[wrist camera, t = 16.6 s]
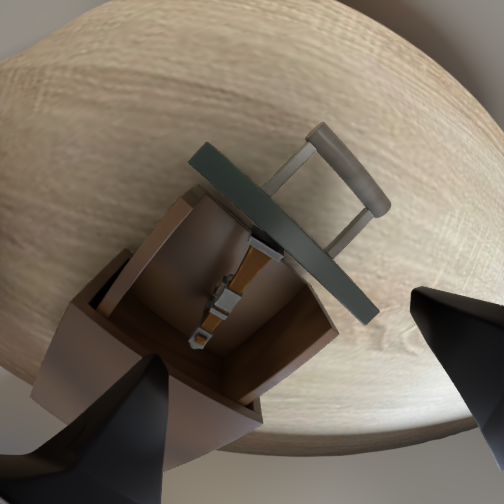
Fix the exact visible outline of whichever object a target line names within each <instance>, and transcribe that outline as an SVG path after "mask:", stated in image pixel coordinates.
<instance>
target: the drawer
mask: <svg viewBox="0 0 504 504" xmlns="http://www.w3.org/2000/svg"><path fill="white" fill-rule="evenodd" d="M305 140H306V141H307V142H306V143H305V144H304V145H303V146H302V147H301V148H300V149H299V150H298V151H297V152H296V153H295V154H294V155H293V156H292V157H291V158H290V159H289V160H288V161H287V162H286V163H285V164H284V165H283V166H282V167H281V168H280V169H279V170H278V171H277V172H276V173H275V174H274V175H273V176H272V177H271V178H270V179H269V180H268V181H267V182H266V183H265V184H264V185H263V186H262V187H261V188H260V187H259V186H258V185H257V184H256V183H255V182H253V181H252V180H251V179H250V178H249V177H248V176H247V175H246V174H245V173H244V172H243V171H241V170H240V169H239V168H238V167H237V166H236V165H235V164H234V163H233V162H232V161H230V160H229V159H228V158H227V157H226V156H225V155H224V154H223V153H221V152H220V151H219V150H218V149H217V148H216V147H214V146H213V145H212V144H210V143H209V142H205V143H204V145H203V146H202V147H201V148H200V149H199V150H198V151H197V152H196V153H195V154H194V155H193V157H192V158H191V159H190V160H189V161H188V163H189V164H190V165H191V166H192V167H193V168H194V169H195V170H197V171H198V172H199V173H200V174H201V175H202V176H203V177H205V178H206V179H207V180H208V181H209V182H210V183H211V184H213V185H214V186H215V187H216V188H217V189H218V190H219V191H220V192H222V193H223V194H224V195H225V196H226V197H227V198H228V199H229V200H230V201H232V202H233V203H234V204H235V205H236V206H237V207H238V208H239V209H241V210H242V211H243V212H244V213H245V214H246V215H247V216H248V217H249V218H250V219H252V220H253V221H254V222H255V223H256V224H257V225H258V226H259V227H260V228H261V229H263V230H264V231H265V232H266V233H267V234H268V235H269V236H270V237H271V238H272V239H273V240H275V241H276V242H277V243H278V244H279V245H280V246H281V247H282V248H283V249H284V250H285V251H286V252H288V253H289V254H290V255H291V256H292V257H293V258H294V259H295V260H296V261H297V262H298V263H299V264H300V265H301V266H303V267H304V268H305V269H306V270H307V271H308V272H309V273H310V274H311V275H312V276H313V277H314V278H315V279H316V280H317V281H318V282H319V283H321V284H322V285H323V286H324V287H325V288H326V289H327V290H328V291H329V292H330V293H331V294H332V295H333V296H334V297H335V298H336V299H337V300H338V301H339V302H340V303H341V304H343V305H344V306H345V307H346V308H347V309H348V310H349V311H350V312H351V313H352V314H353V315H354V316H355V317H356V318H357V319H358V320H359V321H360V322H361V323H362V324H363V325H367V324H368V323H369V322H370V321H371V320H372V319H373V318H374V317H375V316H376V315H377V314H378V313H379V312H380V311H379V310H378V308H377V307H376V306H375V305H374V304H373V303H372V302H371V300H370V299H369V298H368V297H367V296H366V295H365V294H364V293H363V292H362V290H361V289H360V288H359V287H358V286H357V285H356V284H355V283H354V282H353V280H352V279H351V278H350V277H349V276H348V275H347V274H346V273H345V272H344V271H343V270H342V269H341V267H340V266H339V265H338V264H337V263H336V262H335V261H334V260H333V259H334V258H335V257H336V256H337V255H338V254H339V253H340V252H341V251H342V250H343V249H344V248H345V247H346V246H347V245H348V244H349V243H350V241H351V240H352V239H353V238H354V237H355V236H356V235H357V234H358V233H359V232H360V231H361V230H362V229H363V228H364V227H365V226H366V225H367V224H368V223H369V222H370V220H371V219H372V218H373V217H375V218H378V217H381V216H383V215H385V214H386V213H387V212H388V211H389V209H390V208H391V202H390V200H389V199H388V198H387V196H386V195H385V194H384V192H383V191H382V190H381V188H380V187H379V186H378V184H377V183H376V182H375V180H374V179H373V178H372V177H371V175H370V174H369V173H368V172H367V170H366V169H365V168H364V167H363V165H362V164H361V163H360V162H359V161H358V159H357V158H356V157H355V156H354V155H353V153H352V152H351V151H350V150H349V149H348V148H347V146H346V145H345V144H344V143H343V142H342V141H341V140H340V139H339V137H338V136H337V135H336V134H335V133H334V132H333V131H332V130H331V129H330V128H329V127H328V126H327V125H326V123H325V122H322V123H320V124H318V125H317V126H316V127H315V128H314V129H312V130H311V131H310V132H309V133H308V134H307V136H306V137H305ZM315 151H317V152H318V153H319V154H320V155H321V156H322V157H323V159H324V160H325V161H326V162H327V163H328V164H329V165H330V166H331V167H332V168H333V169H334V171H335V172H336V173H337V174H338V175H339V176H340V177H341V178H342V180H343V181H344V182H345V183H346V184H347V185H348V187H349V188H350V189H351V190H352V191H353V192H354V194H355V195H356V196H357V197H358V198H359V200H360V201H361V202H362V203H363V205H364V206H365V207H366V208H364V209H363V210H362V211H361V212H360V213H359V214H358V215H357V216H356V217H355V218H354V219H353V220H352V221H351V222H350V224H349V225H348V226H347V227H346V228H345V229H344V230H343V231H342V232H341V233H340V234H339V235H338V236H337V237H336V238H335V239H334V240H333V241H332V242H331V243H330V244H329V245H328V246H327V247H326V248H325V249H324V250H323V249H322V248H321V247H320V246H319V245H318V244H317V243H316V242H315V241H314V240H313V239H312V238H311V237H310V236H309V235H308V234H307V233H306V232H305V231H304V230H303V229H302V228H301V227H300V226H299V225H298V224H297V223H296V222H295V221H294V220H293V219H292V218H291V217H290V216H289V215H288V214H287V213H286V212H285V211H284V210H283V209H282V208H281V207H280V206H279V205H278V204H277V203H276V202H275V201H274V200H273V199H272V198H270V197H271V196H272V195H273V194H274V193H275V192H276V191H277V190H278V189H279V188H280V187H281V186H282V185H283V184H284V183H285V182H286V181H287V180H288V179H289V178H290V177H291V176H292V175H293V174H294V173H295V172H296V171H297V170H298V169H299V168H300V167H301V166H302V164H303V163H304V162H305V161H306V160H307V159H308V158H309V157H310V156H311V155H312V154H313V153H314V152H315ZM249 232H250V229H249V228H247V227H246V226H245V225H244V224H243V223H242V222H241V221H240V220H238V219H237V218H236V217H235V216H234V215H233V214H232V213H231V212H229V211H228V210H227V209H226V208H225V207H224V206H223V205H222V204H220V203H219V202H218V201H217V200H216V199H215V198H214V197H213V196H211V195H210V194H209V193H208V192H207V191H206V190H205V189H203V188H202V187H201V186H200V185H199V184H197V185H195V186H194V187H193V188H191V189H190V190H188V191H187V192H186V193H184V194H183V195H181V196H180V197H179V198H178V199H177V200H176V202H175V203H174V204H173V205H172V206H171V208H170V209H169V210H168V211H167V213H166V214H165V215H164V216H163V217H162V219H161V220H160V221H159V222H158V224H157V225H156V226H155V228H154V229H153V230H152V231H151V233H150V234H149V235H148V237H147V238H146V239H145V240H144V242H143V243H142V244H141V246H140V247H139V248H138V250H137V251H136V252H135V254H134V255H133V257H132V258H131V259H130V261H129V262H128V263H127V265H126V266H125V268H124V269H123V270H122V272H121V273H120V275H119V276H118V277H117V279H116V280H115V282H114V283H113V285H112V286H111V288H110V289H109V291H108V292H107V294H106V295H105V297H104V298H103V300H102V301H101V303H100V304H99V306H98V307H97V309H96V310H95V311H97V312H98V313H99V314H100V315H102V316H103V317H104V318H105V319H107V320H108V321H109V322H110V323H112V324H113V325H114V326H115V327H117V328H118V329H119V330H121V331H122V332H123V333H125V334H126V335H127V336H129V337H130V338H131V339H133V340H134V341H135V342H137V343H138V344H140V345H141V346H142V347H144V348H145V349H147V350H148V351H150V352H151V353H158V354H159V355H160V357H161V359H162V360H163V361H165V362H166V363H168V364H169V365H171V366H172V367H174V368H176V369H177V370H179V371H180V372H182V373H184V374H185V375H187V376H189V377H190V378H192V379H194V380H195V381H197V382H199V383H200V384H202V385H204V386H206V387H208V388H209V389H211V390H213V391H215V392H217V393H218V394H220V395H222V396H224V397H226V398H228V399H230V400H232V401H234V402H236V403H238V404H240V405H242V406H246V405H247V404H249V403H250V402H252V401H253V400H255V399H256V398H258V397H259V396H261V395H262V394H264V393H265V392H266V391H268V390H269V389H271V388H272V387H274V386H275V385H276V384H278V383H279V382H280V381H282V380H283V379H284V378H286V377H287V376H289V375H290V374H291V373H292V372H294V371H295V370H296V369H298V368H299V367H300V366H302V365H303V364H304V363H305V362H307V361H308V360H309V359H310V358H312V357H313V356H314V355H315V354H317V353H318V352H319V351H320V350H321V349H323V348H324V347H325V346H326V345H327V344H329V343H330V342H331V341H332V340H333V339H334V338H336V337H337V336H338V335H339V332H338V330H337V329H336V327H335V325H334V323H333V322H332V320H331V318H330V316H329V315H328V313H327V311H326V310H325V308H324V306H323V304H322V303H321V301H320V299H319V298H318V296H317V294H316V293H315V291H314V289H313V288H312V286H311V285H310V284H309V283H308V282H307V281H306V280H305V279H304V278H303V277H302V276H300V275H299V274H298V273H297V272H296V271H295V270H294V269H293V268H292V267H291V266H289V265H288V264H287V263H286V262H285V261H284V260H283V259H281V260H280V261H279V262H277V261H276V260H274V259H272V260H271V261H270V262H269V263H267V264H266V265H265V266H264V267H263V268H262V270H261V271H260V272H259V273H258V274H257V275H256V276H255V277H254V278H253V280H252V281H251V282H250V283H249V284H248V285H247V286H246V288H245V289H244V290H243V294H242V298H241V299H240V300H239V301H238V302H237V303H236V305H235V306H234V307H233V309H232V311H231V313H229V314H228V317H227V318H226V319H225V320H224V319H222V320H221V321H220V323H219V324H218V325H217V326H216V328H215V330H214V334H213V336H212V337H211V338H210V339H209V340H208V342H207V343H206V344H205V345H204V347H203V349H200V348H199V349H193V348H192V347H191V346H190V342H188V341H189V338H190V336H191V333H192V332H193V331H194V330H195V328H196V327H197V325H198V324H199V322H200V321H201V318H202V316H203V314H202V312H203V309H204V307H205V306H206V304H207V302H208V300H209V299H210V298H212V299H213V295H212V293H213V290H214V287H215V286H217V287H218V286H219V284H220V283H221V281H222V278H223V275H225V276H228V275H229V274H235V273H236V271H237V269H238V267H239V265H240V264H241V262H242V260H243V258H244V256H245V254H246V252H247V250H248V248H249V246H250V244H248V243H247V241H248V236H249Z"/></svg>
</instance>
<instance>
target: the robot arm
mask: <svg viewBox="0 0 504 504" xmlns="http://www.w3.org/2000/svg"><path fill="white" fill-rule="evenodd" d="M410 313H411V315H412V317H413V319H414V321H415V322H416V324H417V326H418V328H419V329H420V331H421V333H422V335H423V337H424V338H425V340H426V342H427V344H428V345H429V347H430V349H431V350H432V352H433V353H434V354H435V356H436V357H437V359H438V360H439V362H440V363H441V365H442V366H443V368H444V369H445V371H446V372H447V374H448V376H449V377H450V379H451V380H452V382H453V383H454V385H455V387H456V388H457V390H458V391H459V393H460V395H461V396H462V398H463V400H464V401H465V403H466V405H467V407H468V408H469V410H470V412H471V413H472V415H473V417H474V419H475V421H476V422H477V424H478V426H479V428H480V429H481V432H482V434H483V436H484V438H485V440H486V442H487V444H488V446H489V448H490V450H491V452H492V454H493V455H494V458H495V460H496V462H497V464H498V467H499V469H500V470H501V471H503V470H504V306H503V305H501V306H500V305H499V304H495V303H491V302H486V301H482V300H478V299H474V298H470V297H466V296H461V295H457V294H453V293H449V292H445V291H440V290H436V289H432V288H428V287H424V286H420V287H417V288H415V289H413V290H412V292H411V301H410ZM168 412H169V373H168V370H167V368H166V366H165V364H164V362H163V360H162V359H161V357H160V355H159V354H158V353H151V354H146V355H145V356H144V357H143V358H142V359H141V360H140V361H139V362H137V363H136V364H135V365H134V366H133V367H132V368H131V369H130V370H129V371H128V372H127V373H125V374H124V375H123V376H122V377H121V378H120V379H119V380H118V381H117V382H116V383H114V384H113V385H112V386H111V387H110V388H109V389H108V390H107V391H106V392H105V393H103V394H102V395H101V396H100V397H99V398H98V399H97V400H96V401H95V402H94V403H92V404H91V405H90V406H89V407H88V408H87V409H86V410H85V411H84V412H83V413H81V414H80V415H79V416H78V417H77V418H76V419H75V420H74V421H72V422H71V423H70V424H69V425H68V426H67V427H65V428H64V429H63V430H62V431H60V432H59V433H58V434H56V435H55V436H54V437H52V438H51V439H50V440H48V441H47V442H46V443H44V444H43V445H42V446H40V447H39V448H38V449H36V450H35V451H33V452H31V453H29V454H25V455H1V454H0V504H161V492H162V477H163V476H162V475H163V463H164V452H165V441H166V431H167V422H168Z"/></svg>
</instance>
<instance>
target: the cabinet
mask: <svg viewBox="0 0 504 504" xmlns="http://www.w3.org/2000/svg"><path fill="white" fill-rule="evenodd" d="M132 257H133V254H132V253H130V252H129V251H128V250H127V249H126V248H125V249H123V250H122V251H121V252H120V253H119V254H118V255H117V256H116V257H115V258H114V259H113V260H112V261H111V262H110V263H109V264H107V265H106V266H105V267H104V268H103V269H102V270H101V271H100V272H99V273H98V274H97V275H96V276H95V277H94V278H93V279H92V280H91V281H90V282H89V283H88V284H87V285H86V286H85V287H84V288H83V289H82V290H81V291H80V292H79V293H78V295H76V296H75V298H74V299H73V300H72V301H71V302H70V304H69V306H68V308H67V310H66V312H65V314H64V316H63V318H62V320H61V322H60V324H59V326H58V328H57V330H56V332H55V334H54V337H53V339H52V341H51V343H50V346H49V348H48V350H47V353H46V355H45V357H44V360H43V362H42V365H41V367H40V370H39V372H38V375H37V378H36V380H35V383H34V386H33V389H32V392H31V395H30V398H32V399H33V400H34V401H35V402H37V403H38V404H39V405H40V406H42V407H43V408H44V409H46V410H47V411H48V412H50V413H51V414H52V415H54V416H55V417H57V418H58V419H59V420H61V421H62V422H64V423H65V424H66V425H69V424H70V423H71V422H72V421H74V420H75V419H76V418H77V417H78V416H79V415H80V414H81V413H83V412H84V411H85V410H86V409H87V408H88V407H89V406H90V405H91V404H92V403H94V402H95V401H96V400H97V399H98V398H99V397H100V396H101V395H102V394H103V393H105V392H106V391H107V390H108V389H109V388H110V387H111V386H112V385H113V384H114V383H116V382H117V381H118V380H119V379H120V378H121V377H122V376H123V375H124V374H125V373H127V372H128V371H129V370H130V369H131V368H132V367H133V366H134V365H135V364H136V363H137V362H139V361H140V360H141V359H142V358H143V357H144V356H145V355H146V354H151V352H150V351H148V350H147V349H145V348H144V347H142V346H141V345H140V344H138V343H137V342H135V341H134V340H133V339H131V338H130V337H129V336H127V335H126V334H125V333H123V332H122V331H121V330H119V329H118V328H117V327H115V326H114V325H113V324H112V323H110V322H109V321H108V320H107V319H105V318H104V317H103V316H102V315H100V314H99V313H98V312H97V311H95V310H96V309H97V307H98V306H99V304H100V303H101V301H102V300H103V298H104V297H105V295H106V294H107V292H108V291H109V289H110V288H111V286H112V285H113V283H114V282H115V280H116V279H117V277H118V276H119V275H120V273H121V272H122V270H123V269H124V268H125V266H126V265H127V263H128V262H129V261H130V259H131V258H132ZM163 362H164V364H165V366H166V368H167V370H168V373H169V412H168V422H167V431H166V441H165V452H164V463H163V472H165V471H167V470H170V469H173V468H175V467H178V466H180V465H182V464H185V463H187V462H189V461H192V460H194V459H196V458H199V457H201V456H203V455H205V454H207V453H209V452H211V451H214V450H216V449H218V448H220V447H222V446H224V445H226V444H228V443H230V442H232V441H233V440H235V439H237V438H239V437H241V436H243V435H245V434H246V433H248V432H250V431H252V430H254V429H255V428H257V427H259V426H260V425H262V424H263V418H262V412H261V404H260V396H259V397H258V398H256V399H255V400H253V401H252V402H250V403H249V404H247V405H246V406H242V405H240V404H238V403H236V402H234V401H232V400H230V399H228V398H226V397H224V396H222V395H220V394H218V393H217V392H215V391H213V390H211V389H209V388H208V387H206V386H204V385H202V384H200V383H199V382H197V381H195V380H194V379H192V378H190V377H189V376H187V375H185V374H184V373H182V372H180V371H179V370H177V369H176V368H174V367H172V366H171V365H169V364H168V363H166V362H165V361H163Z"/></svg>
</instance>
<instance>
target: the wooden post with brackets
mask: <svg viewBox="0 0 504 504" xmlns="http://www.w3.org/2000/svg"><path fill="white" fill-rule="evenodd" d="M247 243H248V244H250V246H249V248H248V250H247V252H246V254H245V256H244V258H243V260H242V262H241V264H240V265H239V267H238V269H237V271H236V273H235V274H229V275H228V276H225V275H223V278H222V281H221V283H220V284H219V286H218V287H217V286H215V287H214V290H213V293H212V295H213V299H212V298H210V299H209V300H208V302H207V304H206V306H205V307H204V309H203V312H202V314H203V316H202V318H201V321H200V322H199V324H198V325H197V327H196V328H195V330H194V331H193V332H192V333H191V336H190V338H189V341H188V342H190V346H191V347H192V348H193V349H199V348H200V349H203V347H204V345H205V344H206V343H207V342H208V340H209V339H210V338H211V337H212V336H213V334H214V330H215V328H216V326H217V325H218V324H219V323H220V321H221V320H222V319H224V320H225V319H226V318H227V317H228V314H229V313H231V311H232V309H233V307H234V306H235V305H236V303H237V302H238V301H239V300H240V299H241V298H242V294H243V290H244V289H245V288H246V286H247V285H248V284H249V283H250V282H251V281H252V280H253V278H254V277H255V276H256V275H257V274H258V273H259V272H260V271H261V270H262V268H263V267H264V266H265V265H266V264H267V263H269V262H270V261H271V260H272V259H274V260H276V261H277V262H279V261H280V260H281V259H282V258H284V257H285V256H284V249H283V248H282V247H281V246H280V245H279V244H278V243H277V242H276V241H275V240H273V239H272V238H271V237H270V236H269V235H268V234H267V233H266V232H264V231H263V230H261V229H260V228H258V227H257V226H255V225H253V227H252V229H251V230H250V232H249V236H248V241H247Z"/></svg>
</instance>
